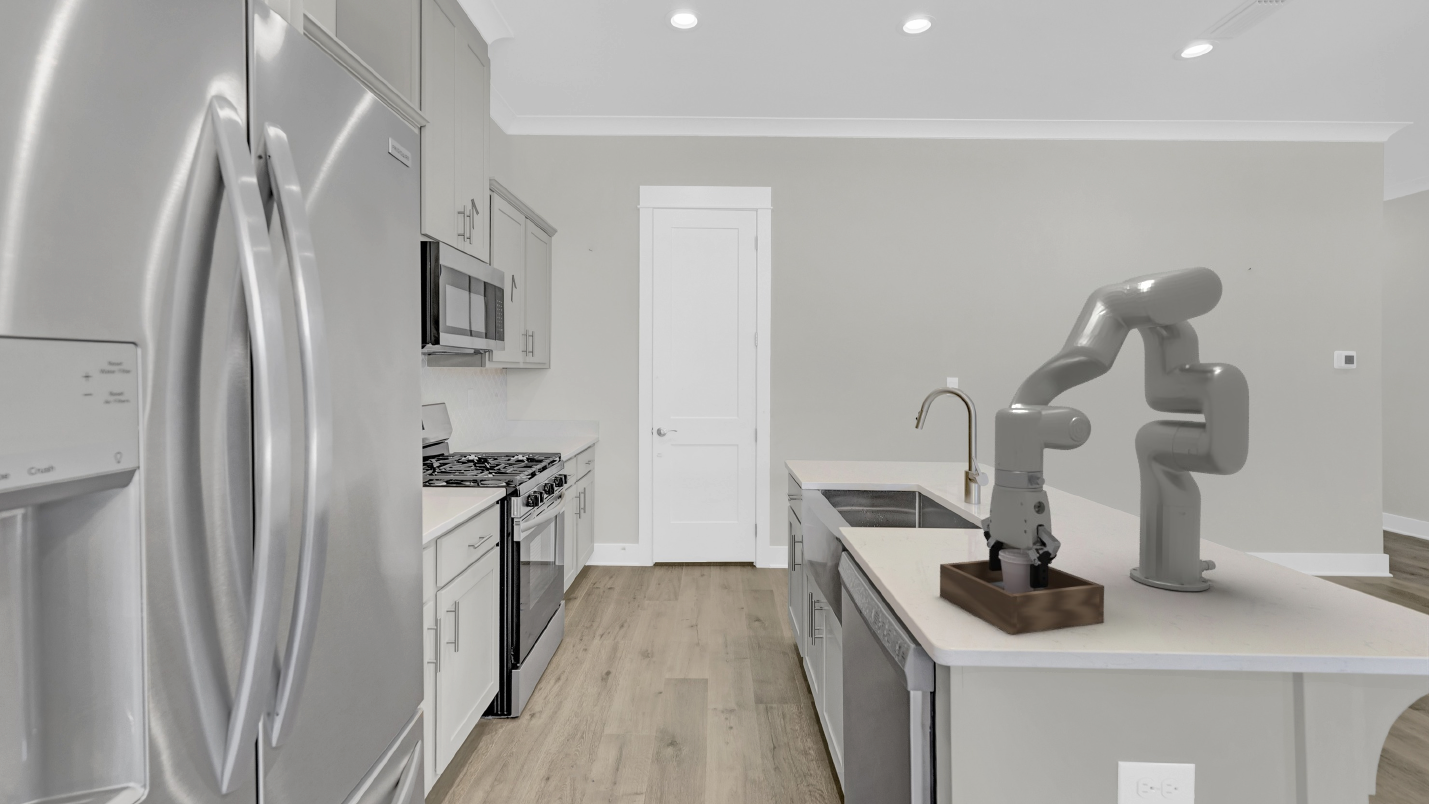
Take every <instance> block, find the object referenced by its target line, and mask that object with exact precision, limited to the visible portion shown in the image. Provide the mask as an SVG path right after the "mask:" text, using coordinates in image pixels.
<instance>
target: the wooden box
mask: <svg viewBox="0 0 1429 804" xmlns="http://www.w3.org/2000/svg"><path fill="white" fill-rule="evenodd" d="M939 597H940V598H941V599H943V600H946V601H947V602H949V603H951V604H952V605H955V606H957V608H960V609H962V610H964V611H966V612H968V613H969V614H971V615H973V616H975V617H977V618H978V619H981V620H983V621H984V622H986V623H988V624H990V625H992V626H994V627H996V628H998V629H1000V630H1001V631H1003V632H1005V633H1007V634H1008V635H1010V636H1012V635H1020V634H1021V635H1022V634H1028V633H1035V632H1043V631H1050V630H1056V629H1057V630H1058V629H1065V628H1073V627H1078V626H1079V627H1080V626H1088V625H1095V624H1101V623H1102V624H1103V623H1104V622H1105V621H1104V620H1105V585H1103V584H1100V583H1096V582H1094V581H1091V580H1089V579H1087V578H1083V577H1080V576H1078V575H1075V574H1072V573H1069V572H1067V571H1063V570H1061V569H1059V568H1055V567H1052V566H1051V565H1049V569H1048V587H1045V588H1036V589H1033V592H1024V593H1016V594H1011V593H1009V592H1007V591H1005V590H1004V582H1003V574H1002V571H990V570H989V559H983V560H982V559H980V560H971V561H961V562H951V563H949V562H948V563H940V564H939Z"/></svg>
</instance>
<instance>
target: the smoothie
mask: <svg viewBox="0 0 1429 804" xmlns="http://www.w3.org/2000/svg"><path fill="white" fill-rule="evenodd" d="M1038 556H1039V555H1038ZM999 558H1000V559H1001V566H1002V574H1003V582H1004V590H1005V591H1007V592H1009V593H1011V594H1016V593H1024V592H1033V588H1031V587H1030V564H1034V563H1033V561H1032V559H1031V557H1030V555H1029V553H1028V551H1027V550H1023V549H1003V550H1000V551H999Z"/></svg>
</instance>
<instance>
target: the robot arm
mask: <svg viewBox="0 0 1429 804" xmlns="http://www.w3.org/2000/svg"><path fill="white" fill-rule="evenodd" d="M1222 295H1223V283H1222V280H1221V278H1220V276H1219V275H1218V274H1217V273H1216V272H1215V271H1214V270H1212V269H1210V268H1209V267H1206V266H1205V267H1203V266H1195V267H1188V268H1182V269H1177V270H1170V271H1169V270H1168V271H1163V272H1156V273H1150V274H1149V273H1148V274H1142V275H1137V276H1134V277H1131V278H1128V279H1125V280H1124V281H1122V282H1119V283H1118V282H1116V283H1112V284H1107V285H1103V286H1101V287H1097V288H1096V289H1095V290H1094V291H1093V292H1091V294H1090V295H1088V297H1087V299H1086V302H1085V303H1084V305H1083V307H1082V308H1081V311H1080V312H1079V315H1078V317H1077V318H1076V321H1075V323H1074V325H1073V327H1072V328H1071V330H1070V333H1069V334H1068V336H1067V338H1066V340H1065V342H1064V344H1063V347H1062V348H1061V349H1060V351H1058V353H1057V354H1055V355H1054V356H1052V357H1051V358H1049V359H1048V360H1047V361H1046V362H1044V363H1043V364H1042V365H1041V366H1039V367H1038V368H1037V369H1036V370H1034V371H1033V372H1032V373H1031V374H1029V376H1028V377H1026V378H1025V380H1023V382H1022V383H1020V385H1019V387H1018V388H1017V390H1016V392H1015V394H1014V396H1013V397H1012V399H1011V402H1010V403H1009V406H1008V407H1005V408H1004V407H1003V408H1001V409H1000V408H999V409H998V410H997V412H996V414H995V417H994V419H995V420H994V484H993V488H992V491H991V499H990V506H989V516H988V517H985V518H984V519H981V521H980V524H981V528H982V531H983V537H984V539H985V540H986V547H987V548H988V554H989V555H988V560H989V570H990V571H1002V566H1001V559H1000V558H999V551H1000V550H1003V549H1006V548H1004V547H1003V546H1004V545H1005V544H1008V545H1011V546H1014V547H1017V548H1020V549H1023V550H1027V551H1028V553H1029V555H1030V557H1031V559H1032V561H1033V563H1034V564H1030V587H1031V588H1033V589H1036V588H1045V587H1048V569H1049V566H1050V565H1052V563H1053V560H1054V559H1056V558H1057V555H1058V552H1059V550H1060V548H1061V545H1062V544H1061V541H1060V540H1059V539H1058V538H1057V537H1055V536H1054V534H1052V518H1051V515H1052V514H1051V507H1050V502H1049V497H1048V494H1047V493H1048V492H1047V491H1046V490H1044V485H1045V483H1046V480H1045V478H1044V450H1045V449H1051V450H1060V451H1069V450H1070V451H1071V450H1074V449H1077V448H1079V447H1082V446H1083V445H1084V444H1085V443H1086V442H1087V441H1088V440H1089V439H1090V436H1091V432H1092V425H1091V420H1090V419H1089V417H1088V416H1087V415H1086V414H1085V413H1084V412H1083V411H1081V410H1079V409H1077V408H1074V407H1070V406H1063V405H1062V406H1061V405H1060V406H1058V405H1050V403H1051V402H1052V401H1053V400H1055V399H1056V398H1057V397H1058V396H1059V395H1061V394H1062V393H1064V392H1066V391H1068V390H1070V389H1072V388H1075V387H1077V386H1079V385H1082V384H1085V383H1089V382H1090V381H1092V380H1095V379H1097V378H1098V377H1101V376H1103V375H1105V374H1107V373H1108V372H1109V371H1110V370H1111V369H1112V367H1113V365H1114V363H1115V361H1116V359H1117V357H1118V355H1119V352H1120V351H1121V349H1122V346H1123V345H1124V342H1125V340H1126V338H1127V337H1128V334H1129V333H1130V331H1132V330H1137V332H1138V333H1139V334H1140V336H1141V338H1142V342H1143V349H1144V398H1145V402H1146V404H1147V405H1148V407H1149V408H1150V409H1152V410H1154V411H1157V412H1161V413H1167V414H1168V413H1172V414H1183V415H1184V414H1185V415H1186V414H1189V415H1190V414H1191V415H1203V416H1204V421H1194V420H1180V419H1158V420H1152V421H1149V422H1146V423H1144V424H1143V425H1142V426H1141V427H1140V428H1139V429H1138V430H1137V432H1136V435H1135V439H1134V446H1135V447H1134V448H1135V453H1136V458H1137V462H1138V468H1139V479H1140V499H1139V502H1140V503H1139V509H1140V510H1139V511H1140V512H1139V554H1138V555H1139V558H1138V559H1139V561H1138V562H1139V563H1138V564H1139V565H1138V566H1136V567H1133V568H1131V569H1129V577H1131V579H1132V580H1134V581H1136V582H1139V583H1141V584H1144V585H1147V586H1151V587H1155V588H1159V589H1164V590H1165V589H1166V590H1172V591H1181V592H1202V591H1206V590H1208V589H1209V588H1210V580H1209V579H1208V578H1206V577H1204V576H1203V573H1204V572H1205V571H1206V572H1207V571H1213V570H1215V569H1216V567H1217V566H1216V563H1215V561H1213V560H1211V559H1207V560H1203V559H1200V558H1201V557H1200V556H1201V552H1200V551H1201V549H1200V548H1201V507H1202V506H1201V505H1202V495H1201V489H1200V488H1199V485H1198V484H1197V482H1196V480H1195V478H1194V476H1193V475H1192V474H1191V472H1192V473H1199V474H1209V475H1214V476H1215V475H1216V476H1231V475H1234V474H1236V473H1238V472H1239V471H1241V470H1242V469H1243V468H1244V466H1245V465H1246V462H1247V461H1248V456H1249V455H1248V454H1249V443H1250V441H1249V440H1250V435H1249V434H1250V430H1249V429H1250V391H1249V384H1248V381H1247V378H1246V376H1245V374H1244V373H1243V372H1242V370H1241V369H1240V368H1238V367H1237V366H1235V365H1233V364H1230V363H1226V362H1200V353H1199V352H1200V348H1199V345H1200V343H1199V337H1198V334H1197V332H1196V330H1195V328H1194V327H1193V325H1192V324H1191V323H1190V321H1189V320H1190V319H1191V320H1192V319H1195V318H1197V317H1201V316H1203V315H1205V314H1208V313H1209V312H1211V311H1213V309H1214V308H1216V307H1217V305H1218V304H1219V302H1220V300H1221V298H1222ZM1002 547H1003V548H1002ZM1036 551H1039V552H1040V555H1039V556H1038V554H1037V552H1036Z"/></svg>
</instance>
